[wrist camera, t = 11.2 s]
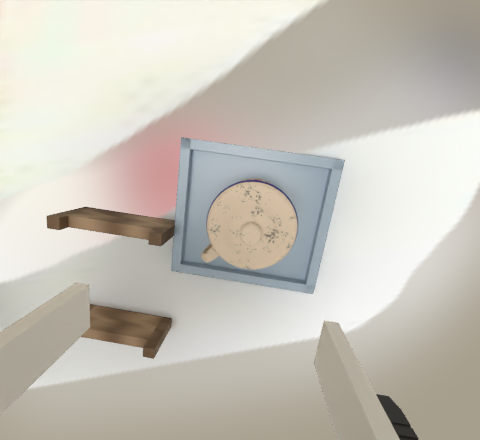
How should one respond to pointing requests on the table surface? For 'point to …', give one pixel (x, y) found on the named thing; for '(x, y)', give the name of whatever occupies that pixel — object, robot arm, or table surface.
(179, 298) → the table surface
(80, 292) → the robot arm
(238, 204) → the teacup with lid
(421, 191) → the table surface
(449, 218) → the table surface
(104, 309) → the walnut rack
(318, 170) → the tray
